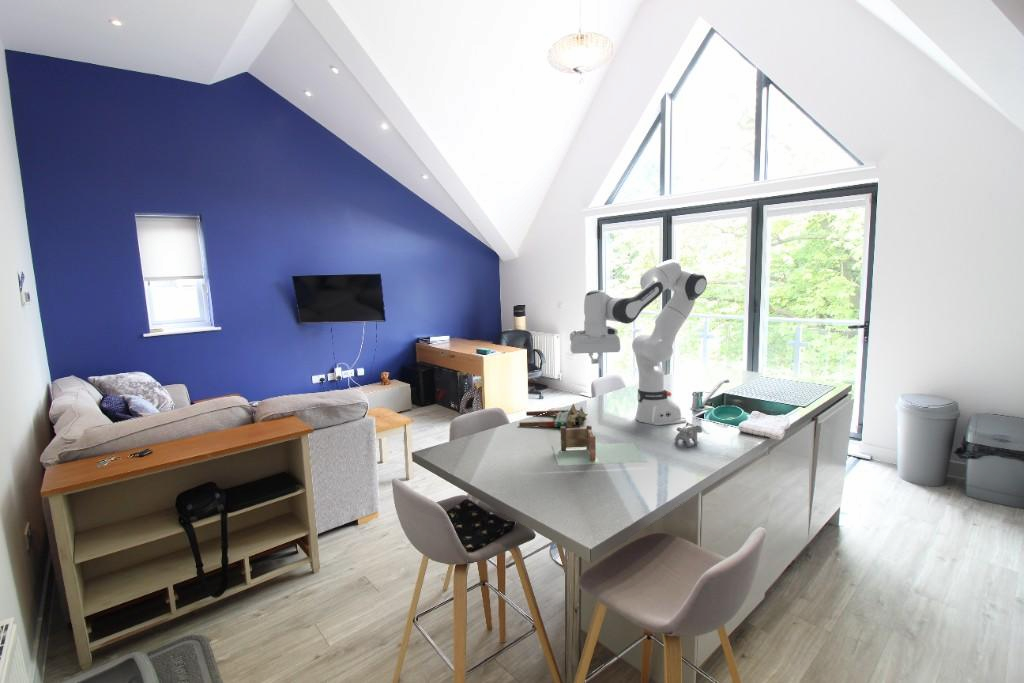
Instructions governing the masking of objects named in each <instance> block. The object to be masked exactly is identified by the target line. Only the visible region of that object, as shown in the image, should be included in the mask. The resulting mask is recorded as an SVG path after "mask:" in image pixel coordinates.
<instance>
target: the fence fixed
mask: <svg viewBox="0 0 1024 683" xmlns="http://www.w3.org/2000/svg"><path fill="white" fill-rule="evenodd" d="M588 429H591V431H592V432H593V430H592V425H586V426H585V427H578V428H577V427H572V428H571V429H567V427H566V426H564V427H562V426H560V446H561V451H566V448H571V447H587V450H589V449H588Z"/></svg>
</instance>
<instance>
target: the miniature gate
mask: <svg viewBox="0 0 1024 683" xmlns="http://www.w3.org/2000/svg"><path fill="white" fill-rule="evenodd" d="M575 406H576V405H575V403H573V404H572V405H571V407H570V409H556V410H553V409H552V410H533V411H532V410H531V411H529V410H528V411H526V412H525V414H526V416H527V417H530V416H531V417H539V416H538V415H540V414H542V416H541V417H549V416H548V415H555V419H553V420H549V421H548V420H547V421H546V420H545V421H544V420H543V421H541V420H540V421H523V422H522V421H520V422H519V423H518V426H519V427H520V428H525V427H524V426H539V427H538V428H549V427H551V428H553V427H554V428H557V427H566V429H571V428H573V427H574V426H576V425H577V424H576V422H577V423H578V425H580V426H581V425H582V426H583V423H584V421H587V416H588V413H585V411H584V410H583V407H582V406H581V407H580V409H579V410H578V409H576V407H575ZM546 412H547V413H546ZM543 413H545V414H543ZM543 415H545V416H543ZM541 426H542V427H541ZM545 426H546V427H545ZM580 426H579V427H580ZM582 426H581V427H582Z"/></svg>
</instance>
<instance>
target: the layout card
mask: <svg viewBox="0 0 1024 683" xmlns="http://www.w3.org/2000/svg"><path fill="white" fill-rule="evenodd" d="M571 448H572V449H571ZM571 448H570V449H566V451H562V452H561V449H559V452H557V451H556V452H557V453H558V454H557V453H555V454H554V456H555V455H556V456H555V459H556V462H557V465H558V466H559V467H560V466H563V467H564V466H583V465H585V466H586V465H604V464H628V463H629V464H630V463H631V464H632V463H647V462H648V461H647V460H646V458H644V456H643V455H642V454H641V452H640V451H639V450H638V449H637V448H636V446H635V445H634V444H633V443H632V442H624V443H623V442H621V443H620V442H619V443H596V460H590V452H589V450H587V447H580V448H579V449H578V448H576V449H575V447H574V449H573V447H571Z"/></svg>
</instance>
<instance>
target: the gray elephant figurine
mask: <svg viewBox="0 0 1024 683" xmlns="http://www.w3.org/2000/svg"><path fill="white" fill-rule="evenodd" d="M676 431H677V432H678V433H677V434H676V436H675V437H674V442H675V443H676V444H678V443H679V441H680V440H681V441H682V442H683V443H684V442H685V443H686V446H687V447H688V448H691V447H692V442H693V444H694V446H697V445H698V444H699V442H698V433H699V434H701V433H702V432H703V428H702V427H701V425H696V424H694V423H690V422H687V421H686V422H685V426H684V427H677V428H676ZM690 439H691V440H692V442H691V440H690Z"/></svg>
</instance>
